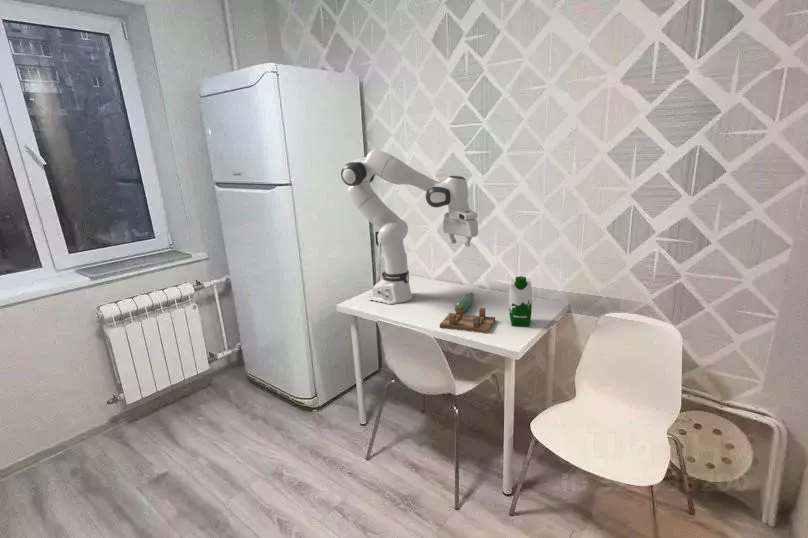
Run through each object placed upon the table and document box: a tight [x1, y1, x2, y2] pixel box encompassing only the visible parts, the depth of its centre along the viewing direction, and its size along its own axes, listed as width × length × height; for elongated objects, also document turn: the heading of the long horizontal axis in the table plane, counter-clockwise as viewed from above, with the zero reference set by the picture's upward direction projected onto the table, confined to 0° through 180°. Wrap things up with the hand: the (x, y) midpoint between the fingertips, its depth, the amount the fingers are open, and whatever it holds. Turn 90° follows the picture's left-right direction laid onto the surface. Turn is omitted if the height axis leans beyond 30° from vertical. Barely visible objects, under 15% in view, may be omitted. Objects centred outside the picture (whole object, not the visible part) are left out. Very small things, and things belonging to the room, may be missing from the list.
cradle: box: [439, 306, 496, 334], centre depth 172 cm, size 13×20×6 cm, turn 66°
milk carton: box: [508, 275, 533, 328], centre depth 168 cm, size 9×9×20 cm
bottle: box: [454, 291, 475, 314], centre depth 192 cm, size 19×5×5 cm, turn 156°
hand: (460, 244), depth 185 cm, fingers open, 8 cm apart
